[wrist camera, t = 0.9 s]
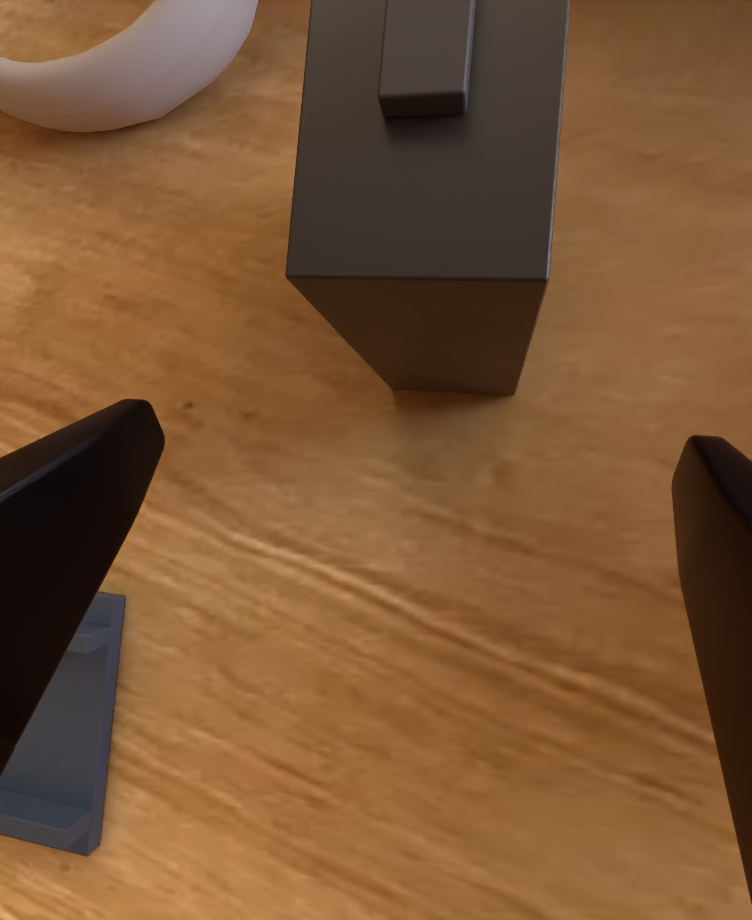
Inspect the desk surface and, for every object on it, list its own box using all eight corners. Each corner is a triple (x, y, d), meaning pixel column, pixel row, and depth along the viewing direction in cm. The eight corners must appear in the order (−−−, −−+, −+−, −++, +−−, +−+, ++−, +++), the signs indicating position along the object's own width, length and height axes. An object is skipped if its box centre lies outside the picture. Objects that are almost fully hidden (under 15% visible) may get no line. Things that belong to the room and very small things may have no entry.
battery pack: (532, 173, 22) (592, -246, 10) (514, 395, 22) (553, 267, 9) (403, 176, 23) (303, -197, 11) (385, 389, 23) (259, 265, 10)
